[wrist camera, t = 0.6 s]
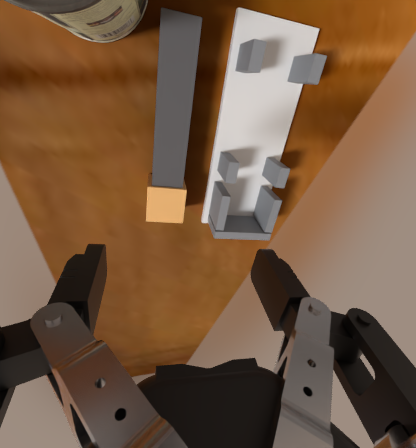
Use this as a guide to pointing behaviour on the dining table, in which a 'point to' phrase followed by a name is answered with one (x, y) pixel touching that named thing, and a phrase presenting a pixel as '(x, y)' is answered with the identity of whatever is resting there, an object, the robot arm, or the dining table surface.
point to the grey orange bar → (173, 114)
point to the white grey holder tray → (257, 122)
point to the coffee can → (90, 16)
